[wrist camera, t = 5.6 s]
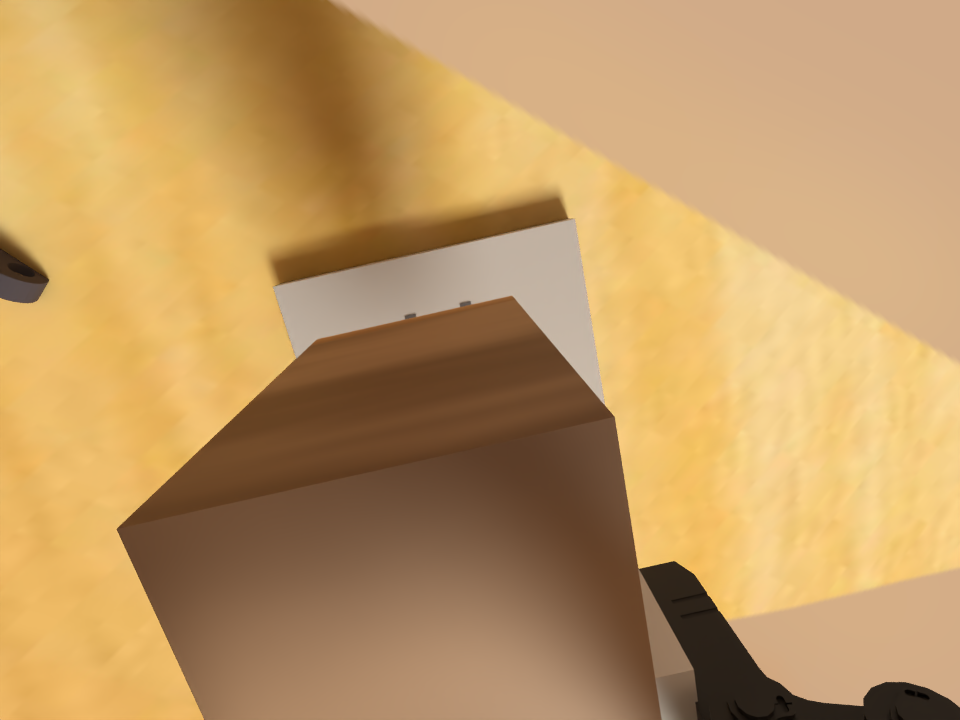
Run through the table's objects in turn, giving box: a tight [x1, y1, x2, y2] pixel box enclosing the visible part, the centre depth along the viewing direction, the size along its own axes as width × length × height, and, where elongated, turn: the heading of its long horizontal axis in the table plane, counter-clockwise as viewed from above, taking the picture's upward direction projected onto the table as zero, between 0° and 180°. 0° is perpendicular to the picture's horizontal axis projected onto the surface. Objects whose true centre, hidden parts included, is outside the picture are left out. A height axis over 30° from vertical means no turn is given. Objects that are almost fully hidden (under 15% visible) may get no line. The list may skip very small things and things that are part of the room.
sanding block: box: [117, 296, 662, 720], centre depth 13 cm, size 12×6×10 cm, turn 12°
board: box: [273, 219, 605, 405], centre depth 31 cm, size 20×16×2 cm
